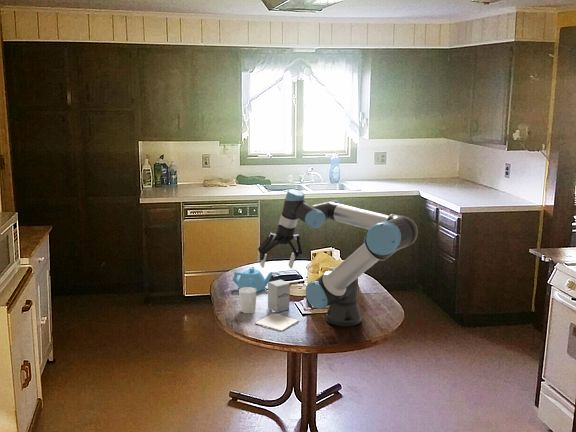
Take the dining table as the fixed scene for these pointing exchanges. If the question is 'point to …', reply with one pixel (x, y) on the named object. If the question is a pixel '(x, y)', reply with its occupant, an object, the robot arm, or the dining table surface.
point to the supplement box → (278, 295)
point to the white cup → (247, 299)
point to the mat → (277, 322)
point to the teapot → (251, 279)
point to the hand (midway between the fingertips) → (276, 266)
